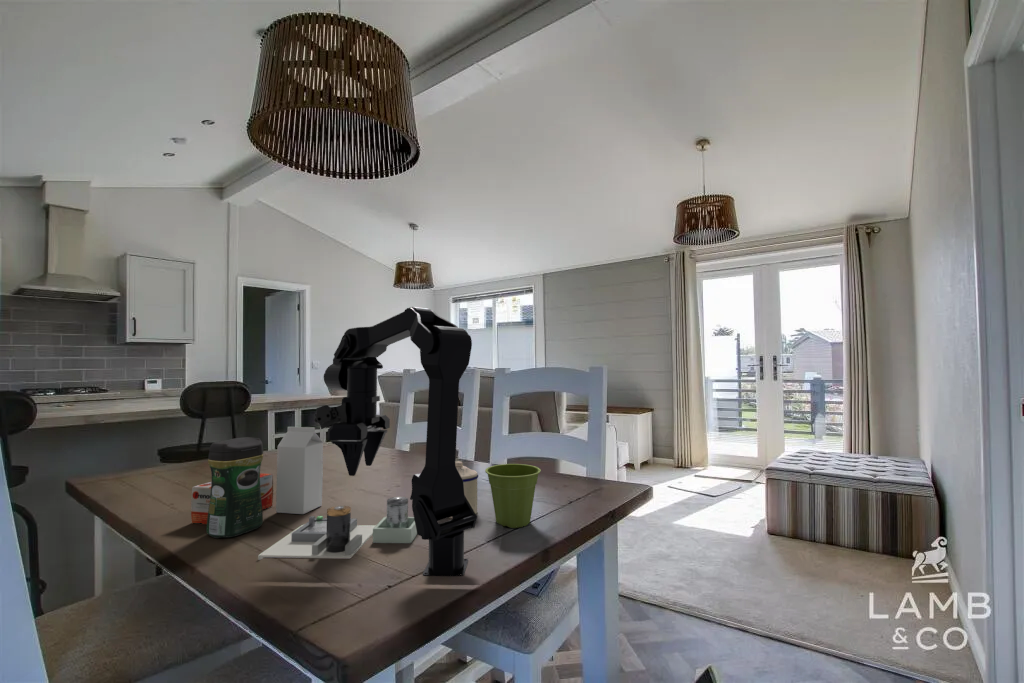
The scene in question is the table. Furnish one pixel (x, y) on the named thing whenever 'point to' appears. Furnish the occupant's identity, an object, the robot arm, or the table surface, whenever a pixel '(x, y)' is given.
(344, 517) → the cell
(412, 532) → the cup
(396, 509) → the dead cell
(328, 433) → the robot arm
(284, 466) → the milk carton
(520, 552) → the table surface
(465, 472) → the teacup with lid
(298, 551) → the white square base board
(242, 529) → the coffee jar
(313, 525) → the cradle
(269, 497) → the medicine box
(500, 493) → the plant pot
